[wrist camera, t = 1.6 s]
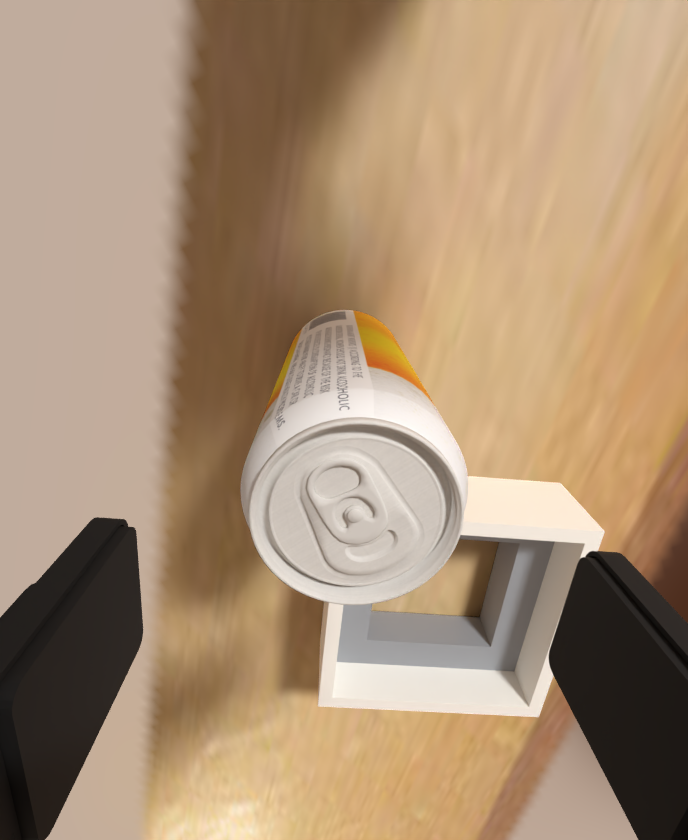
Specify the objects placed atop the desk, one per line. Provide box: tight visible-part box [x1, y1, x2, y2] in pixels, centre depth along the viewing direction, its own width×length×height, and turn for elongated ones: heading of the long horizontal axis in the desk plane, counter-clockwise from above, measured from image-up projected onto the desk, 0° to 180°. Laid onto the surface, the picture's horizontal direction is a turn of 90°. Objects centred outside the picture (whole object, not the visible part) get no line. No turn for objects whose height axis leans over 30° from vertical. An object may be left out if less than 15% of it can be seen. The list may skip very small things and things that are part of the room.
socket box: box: [318, 476, 605, 717], centre depth 28 cm, size 14×14×5 cm
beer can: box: [240, 310, 468, 605], centre depth 18 cm, size 6×6×15 cm
